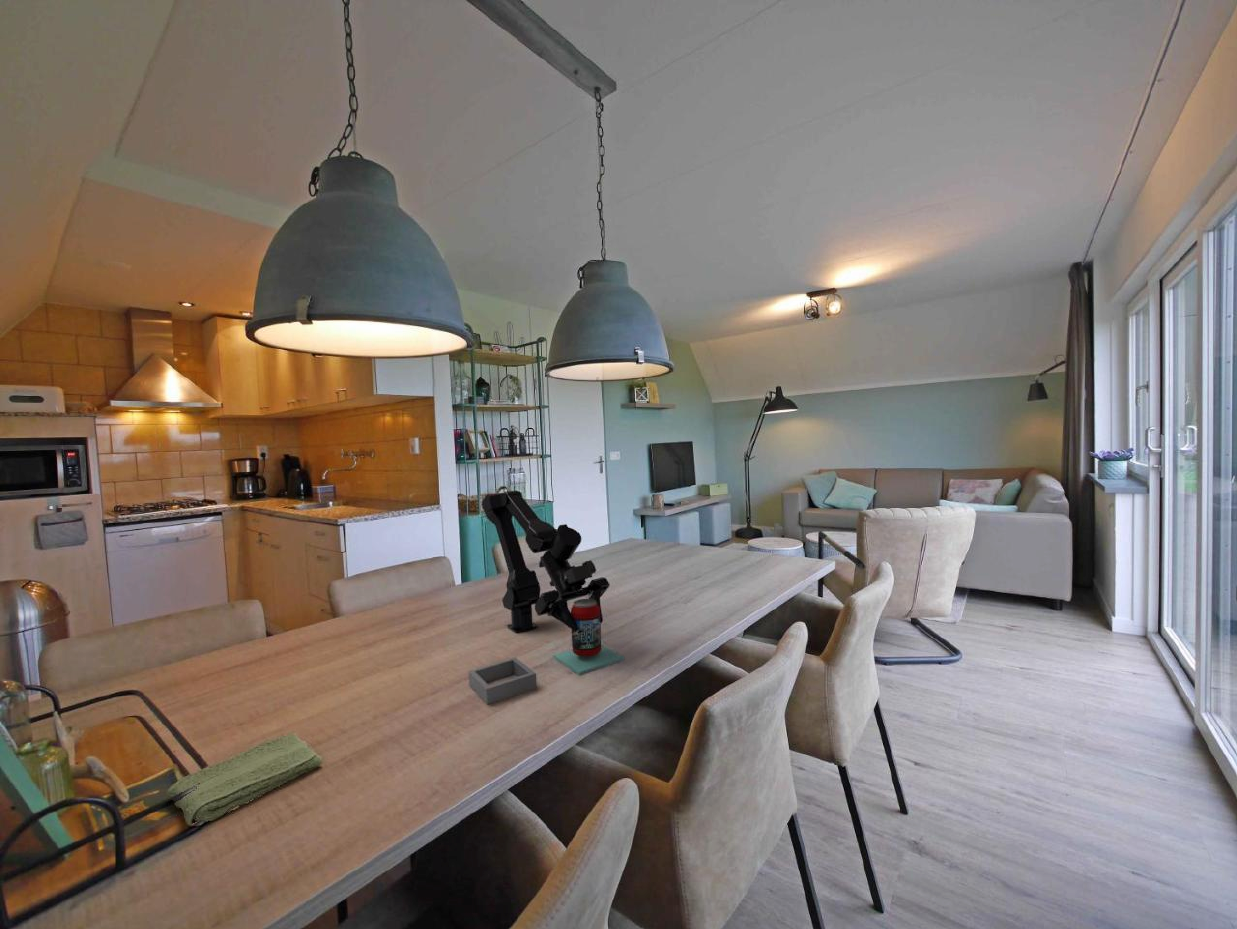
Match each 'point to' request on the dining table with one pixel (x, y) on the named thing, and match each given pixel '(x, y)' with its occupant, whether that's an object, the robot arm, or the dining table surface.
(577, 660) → the teal mat
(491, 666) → the can holder
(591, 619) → the beverage can
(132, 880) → the dining table surface
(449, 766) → the dining table surface
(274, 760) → the washcloth
